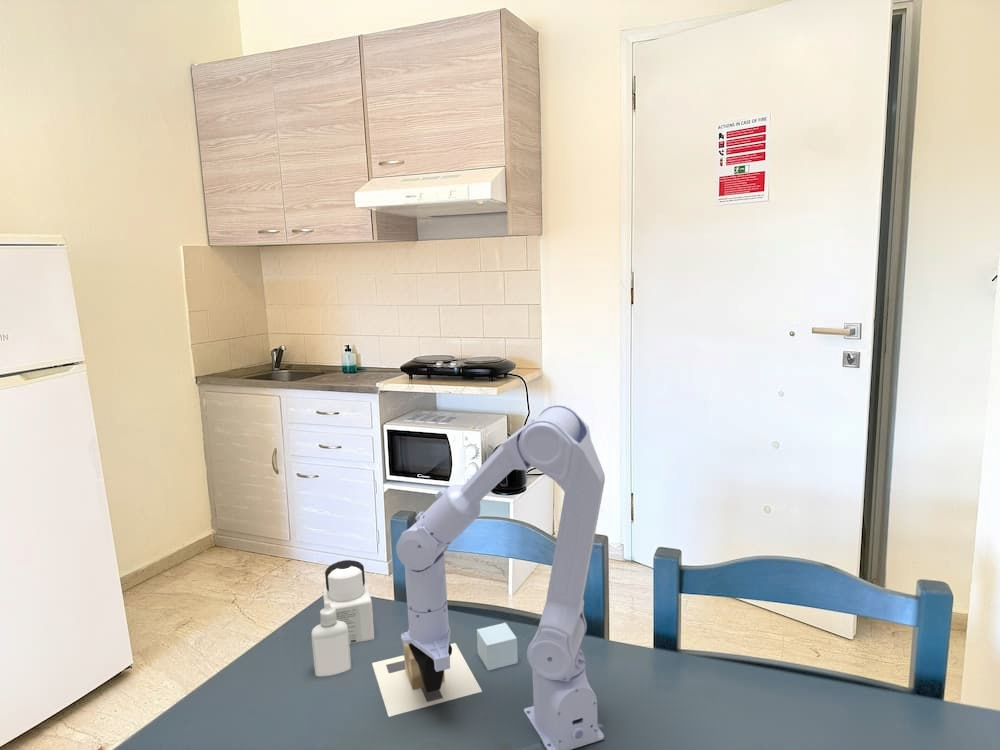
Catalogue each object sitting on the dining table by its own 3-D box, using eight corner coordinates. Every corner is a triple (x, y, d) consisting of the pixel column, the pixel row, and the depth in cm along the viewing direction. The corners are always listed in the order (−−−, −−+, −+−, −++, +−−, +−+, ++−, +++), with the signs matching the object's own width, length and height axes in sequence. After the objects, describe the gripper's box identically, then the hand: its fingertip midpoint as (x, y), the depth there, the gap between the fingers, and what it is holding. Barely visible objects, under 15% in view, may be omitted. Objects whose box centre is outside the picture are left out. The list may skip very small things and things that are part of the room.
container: (326, 628, 119) (320, 560, 117) (369, 619, 121) (364, 552, 119) (328, 651, 112) (322, 579, 110) (374, 642, 114) (369, 571, 112)
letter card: (482, 695, 99) (482, 691, 99) (388, 720, 94) (388, 716, 94) (455, 646, 112) (455, 642, 112) (372, 666, 107) (371, 662, 107)
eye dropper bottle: (344, 682, 103) (338, 610, 101) (310, 679, 104) (303, 608, 102) (355, 665, 108) (349, 596, 106) (322, 662, 109) (316, 594, 107)
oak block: (444, 681, 101) (442, 651, 101) (412, 689, 100) (410, 659, 99) (436, 663, 106) (434, 634, 105) (405, 671, 104) (403, 642, 104)
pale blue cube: (518, 667, 106) (516, 638, 105) (488, 674, 104) (486, 645, 103) (506, 650, 110) (505, 622, 109) (478, 657, 109) (476, 629, 108)
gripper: (389, 586, 101) (395, 667, 103) (411, 634, 88) (417, 726, 90) (434, 576, 103) (439, 656, 106) (462, 622, 90) (467, 712, 92)
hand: (432, 688), depth 98 cm, fingers closed
